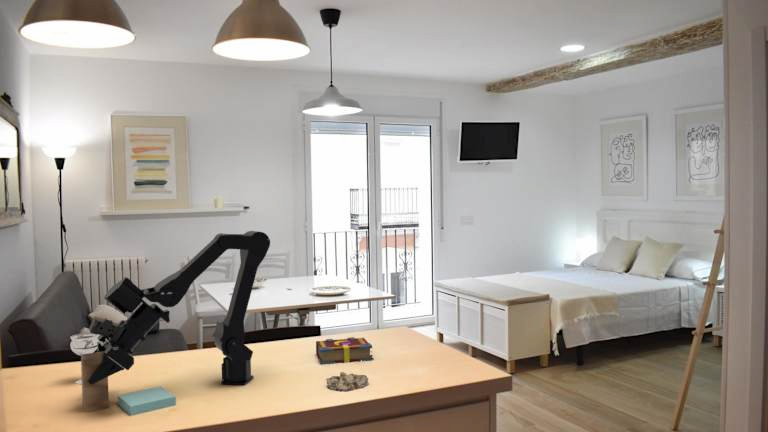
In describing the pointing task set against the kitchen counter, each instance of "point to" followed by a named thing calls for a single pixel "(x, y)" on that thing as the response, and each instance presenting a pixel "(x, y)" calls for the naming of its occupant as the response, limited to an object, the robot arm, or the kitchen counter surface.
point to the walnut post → (97, 392)
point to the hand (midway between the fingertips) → (88, 379)
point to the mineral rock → (347, 382)
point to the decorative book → (343, 350)
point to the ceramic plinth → (146, 400)
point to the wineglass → (84, 345)
